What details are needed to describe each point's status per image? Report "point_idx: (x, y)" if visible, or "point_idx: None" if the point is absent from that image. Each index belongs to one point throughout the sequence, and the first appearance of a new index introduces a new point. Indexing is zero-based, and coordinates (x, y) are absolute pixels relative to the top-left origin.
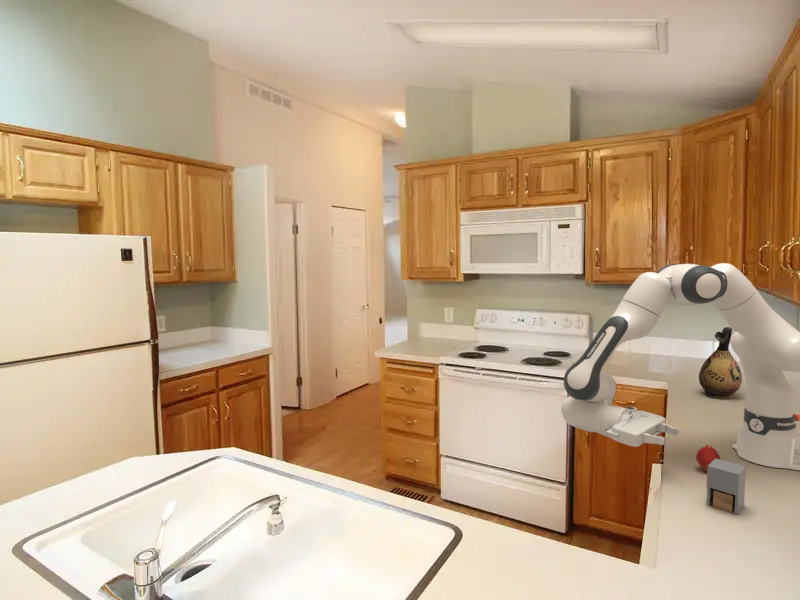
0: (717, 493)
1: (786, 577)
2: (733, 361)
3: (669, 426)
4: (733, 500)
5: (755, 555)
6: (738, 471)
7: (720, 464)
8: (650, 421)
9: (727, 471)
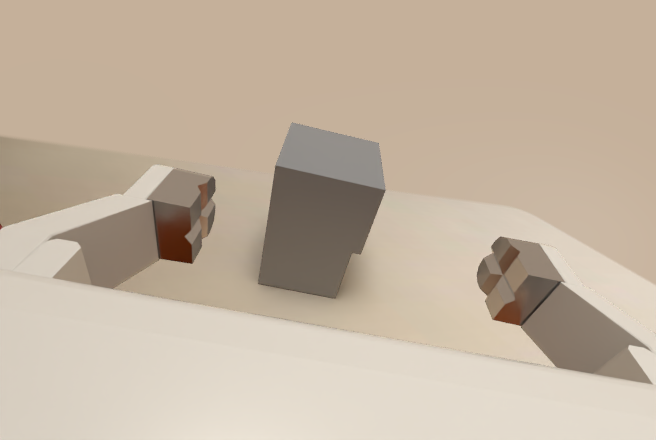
0: None
1: (494, 209)
2: None
3: (117, 209)
4: None
5: (478, 231)
6: (354, 140)
7: (333, 162)
8: (115, 423)
9: (380, 157)
